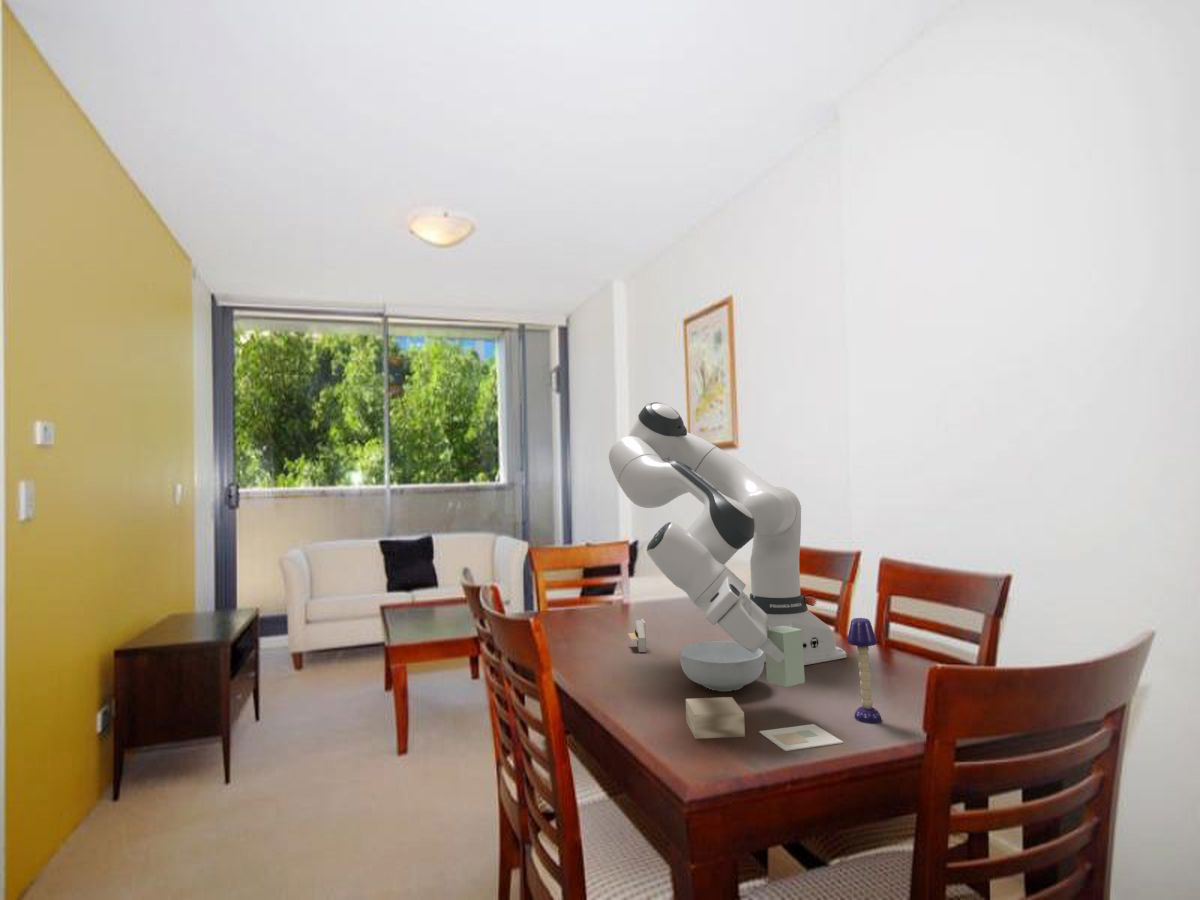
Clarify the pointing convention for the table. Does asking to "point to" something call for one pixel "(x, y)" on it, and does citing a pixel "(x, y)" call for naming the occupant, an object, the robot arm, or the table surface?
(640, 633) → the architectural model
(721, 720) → the base brick
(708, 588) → the robot arm
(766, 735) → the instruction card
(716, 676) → the cereal bowl
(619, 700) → the table surface
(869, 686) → the toy lamp
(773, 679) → the column brick
